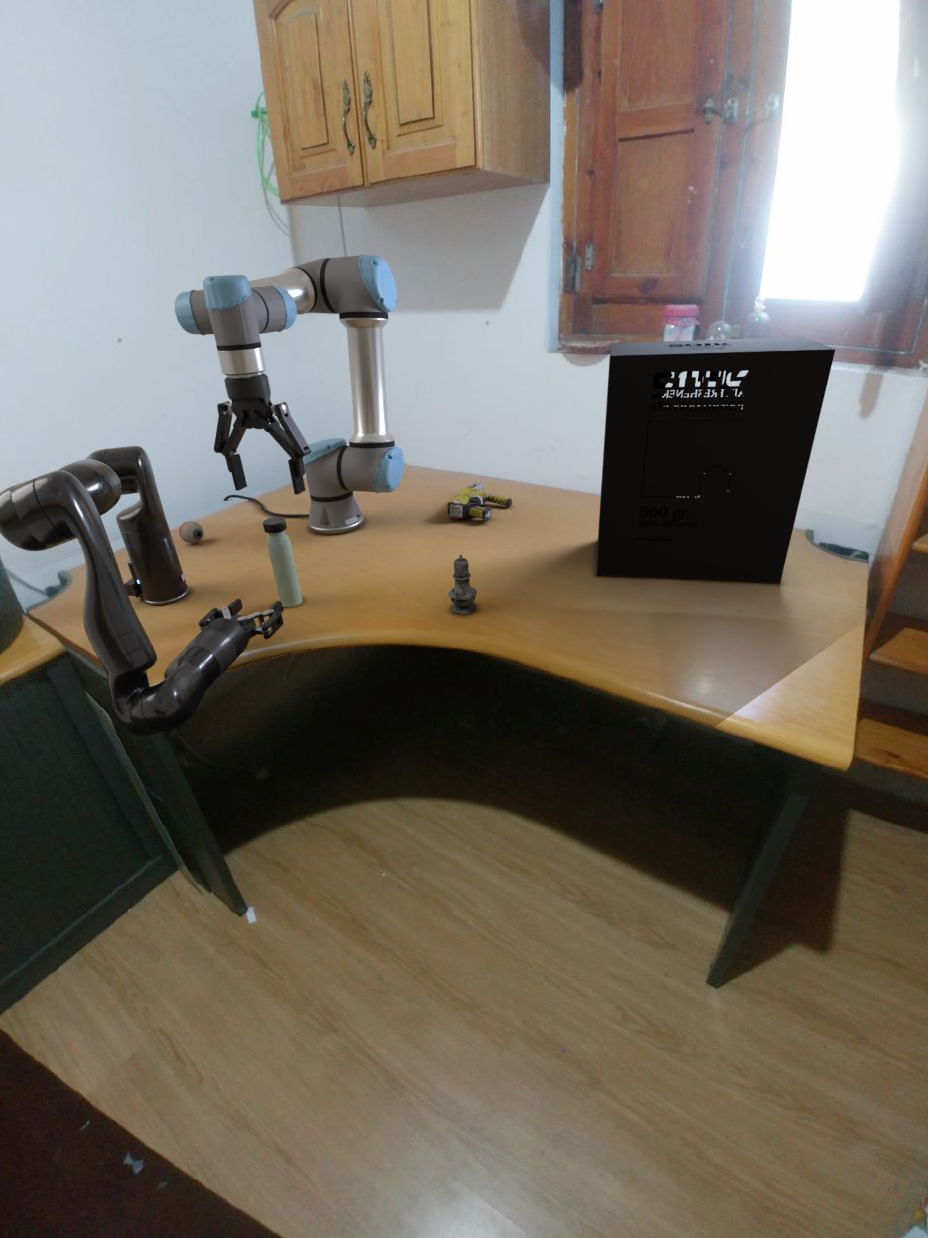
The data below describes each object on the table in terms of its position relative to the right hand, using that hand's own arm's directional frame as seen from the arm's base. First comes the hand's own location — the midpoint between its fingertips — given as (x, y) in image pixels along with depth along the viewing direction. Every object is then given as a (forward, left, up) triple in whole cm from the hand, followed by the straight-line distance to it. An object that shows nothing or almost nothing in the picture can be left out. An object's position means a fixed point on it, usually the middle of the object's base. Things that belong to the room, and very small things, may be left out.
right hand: (270, 490), depth 118 cm
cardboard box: (+42, +77, -25) cm, 91 cm away
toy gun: (-17, +66, -25) cm, 72 cm away
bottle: (0, -1, -25) cm, 25 cm away
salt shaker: (+27, +26, -25) cm, 45 cm away
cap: (0, -1, -7) cm, 7 cm away
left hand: (+7, -9, -19) cm, 22 cm away
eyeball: (-51, -7, -25) cm, 57 cm away
